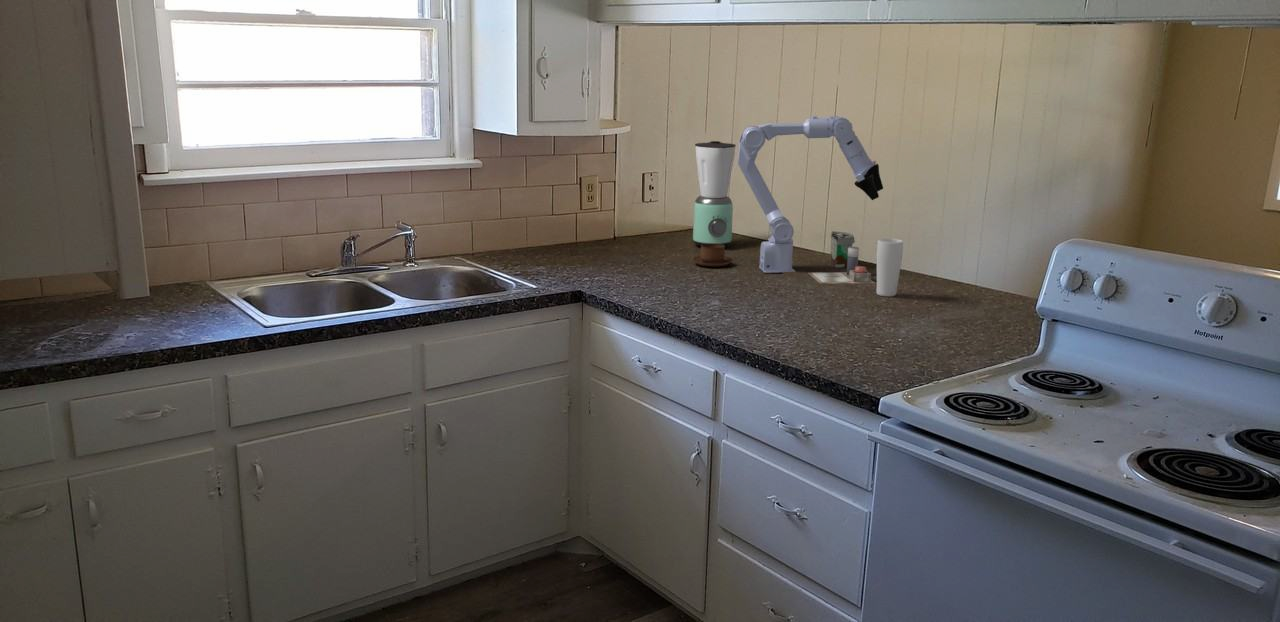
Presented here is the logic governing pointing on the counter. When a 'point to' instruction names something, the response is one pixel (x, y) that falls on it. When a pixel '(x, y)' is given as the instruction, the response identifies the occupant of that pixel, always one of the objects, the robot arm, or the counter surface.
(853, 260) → the cylinder
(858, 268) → the button
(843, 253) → the food container
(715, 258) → the cup and saucer
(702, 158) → the mint green blender
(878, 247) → the drinking glass
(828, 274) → the control panel
